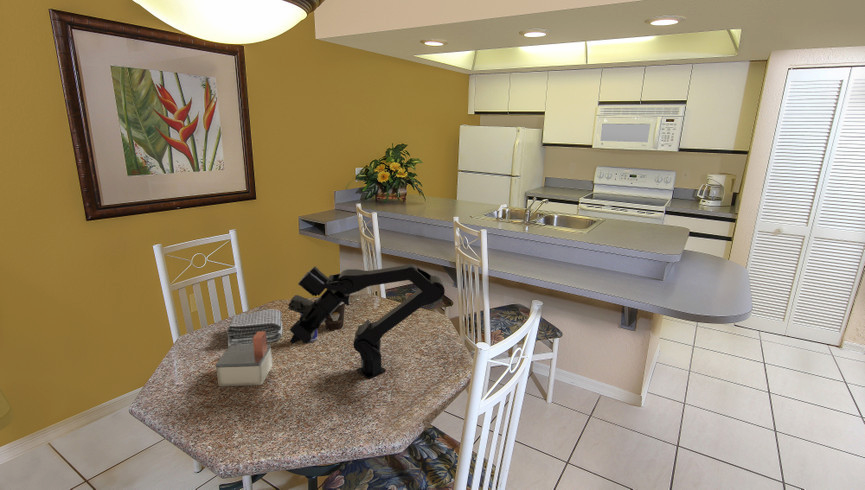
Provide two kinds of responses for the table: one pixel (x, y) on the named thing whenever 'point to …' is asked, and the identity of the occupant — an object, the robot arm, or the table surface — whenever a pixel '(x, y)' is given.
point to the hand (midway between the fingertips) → (291, 342)
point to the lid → (246, 353)
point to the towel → (254, 327)
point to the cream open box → (245, 373)
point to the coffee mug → (336, 318)
